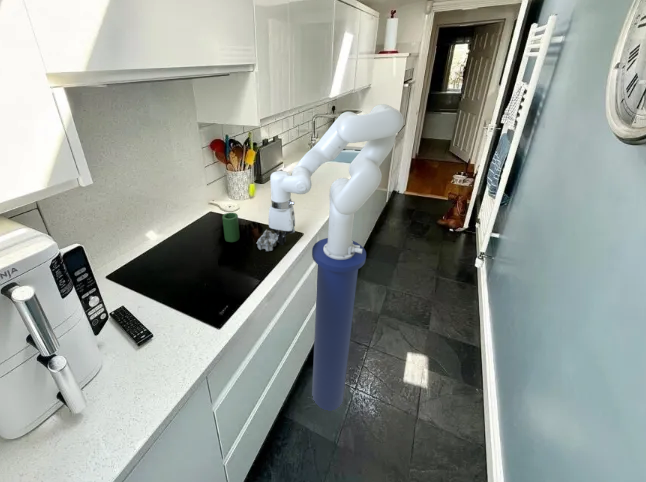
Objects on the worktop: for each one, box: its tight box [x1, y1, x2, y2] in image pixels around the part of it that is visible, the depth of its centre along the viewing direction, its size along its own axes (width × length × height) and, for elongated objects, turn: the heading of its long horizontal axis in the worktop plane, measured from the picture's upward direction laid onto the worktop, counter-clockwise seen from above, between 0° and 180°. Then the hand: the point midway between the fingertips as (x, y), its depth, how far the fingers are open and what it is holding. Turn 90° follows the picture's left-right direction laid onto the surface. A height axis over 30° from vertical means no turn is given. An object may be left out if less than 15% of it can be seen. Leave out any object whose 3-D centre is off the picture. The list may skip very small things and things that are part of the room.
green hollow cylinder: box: [221, 212, 241, 243], centre depth 132 cm, size 6×6×11 cm
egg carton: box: [255, 228, 279, 252], centre depth 128 cm, size 11×8×4 cm
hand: (282, 243), depth 127 cm, fingers closed
